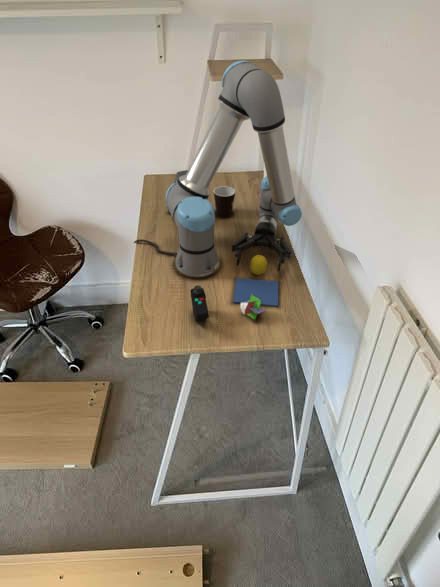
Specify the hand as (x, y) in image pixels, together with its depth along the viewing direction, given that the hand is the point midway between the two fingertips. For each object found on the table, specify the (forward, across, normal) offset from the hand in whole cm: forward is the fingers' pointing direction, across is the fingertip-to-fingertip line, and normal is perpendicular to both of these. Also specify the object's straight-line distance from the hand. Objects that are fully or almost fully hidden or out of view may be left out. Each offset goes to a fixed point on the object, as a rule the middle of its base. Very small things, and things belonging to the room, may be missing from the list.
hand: (258, 265), depth 141 cm
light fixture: (-32, +33, -6) cm, 46 cm away
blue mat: (+7, -1, -6) cm, 9 cm away
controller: (+23, +14, -6) cm, 28 cm away
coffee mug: (-42, +18, -6) cm, 46 cm away
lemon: (-2, 0, -6) cm, 7 cm away
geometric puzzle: (+18, -1, -6) cm, 19 cm away
